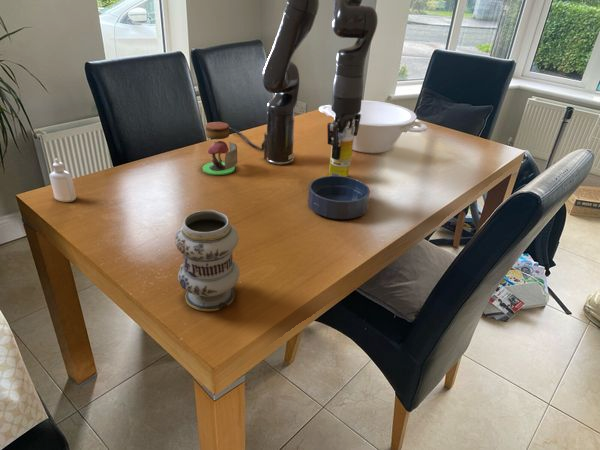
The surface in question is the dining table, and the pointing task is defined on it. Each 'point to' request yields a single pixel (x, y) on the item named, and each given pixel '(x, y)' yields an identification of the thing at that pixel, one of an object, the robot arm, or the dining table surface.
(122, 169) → the dining table surface
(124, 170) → the dining table surface
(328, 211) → the bowl
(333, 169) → the supplement box
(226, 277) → the apothecary jar
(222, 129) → the mushroom terrarium
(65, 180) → the eye dropper bottle
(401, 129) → the white wash basin
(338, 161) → the supplement bottle
